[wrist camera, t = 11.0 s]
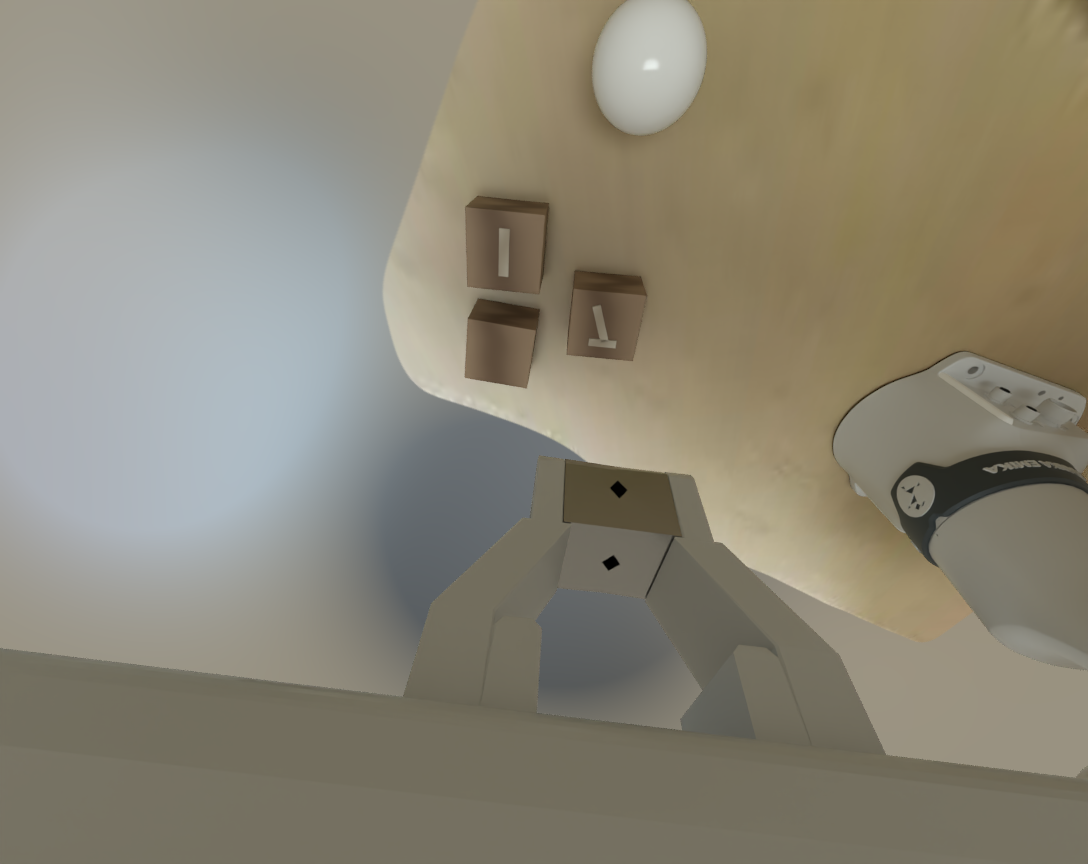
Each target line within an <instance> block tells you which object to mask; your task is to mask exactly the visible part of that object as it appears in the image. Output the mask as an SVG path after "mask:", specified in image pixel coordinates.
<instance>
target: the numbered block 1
mask: <svg viewBox="0 0 1088 864" xmlns="http://www.w3.org/2000/svg"><path fill="white" fill-rule="evenodd" d="M548 208H549V203H540V202H530V201H520V200H511V199H501V198H491V197H481V196H477V197H476V198H475V199H474V200H473V201H472V202H470V203H469V204H468V205H467V206H466V207H465V216H466V253H467V287H474V288H484V289H493V290H503V291H513V292H522V293H532V294H539V293H540V288H541V283H542V279H543V272H544V259H545V246H546V233H547V221H548Z"/></svg>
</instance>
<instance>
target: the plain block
mask: <svg viewBox="0 0 1088 864" xmlns="http://www.w3.org/2000/svg"><path fill="white" fill-rule="evenodd" d="M539 312H540V309H534V308H528V307H523V306H517V305H512V304H506V303H501V302H495V301H489V300H484V299H478V300H477V302H476V304H475V306H474V308H473V310H472V312H471V314H470V315H469V317H468V325H467V344H466V362H465V378H470V379H475V380H481V381H487V382H493V383H499V384H505V385H511V386H516V387H522V388H527V384H528V379H529V373H530V368H531V362H532V356H533V350H534V343H535V337H536V331H537V324H538V318H539Z"/></svg>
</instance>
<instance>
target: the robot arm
mask: <svg viewBox="0 0 1088 864" xmlns="http://www.w3.org/2000/svg"><path fill="white" fill-rule="evenodd" d="M970 368H971V369H970ZM1085 405H1086V398H1085V397H1083V396H1082V395H1081V394H1079V393H1078V392H1076V391H1074V390H1071V389H1068V388H1066V387H1063V386H1060V385H1058V384H1055V383H1052V382H1049V381H1047V380H1044V379H1041V378H1039V377H1036V376H1033V375H1030V374H1028V373H1025V372H1022V371H1020V370H1017V369H1014V368H1011V367H1009V366H1006V365H1003V364H1000V363H998V362H995V361H992V360H990V359H987V358H984V357H981V356H979V355H976V354H973V353H970V352H959V353H956V354H954V355H952V356H950V357H948V358H946V359H944V360H942V361H941V362H939V363H938V364H936V365H934V366H933V367H931V368H930V369H928V370H926V371H923V372H921V373H918V374H915V375H912V376H909V377H906V378H903V379H900V380H897V381H895V382H893V383H890V384H888V385H886V386H884V387H882V388H880V389H879V390H877V391H875V392H874V393H872V394H870V395H869V396H868V397H866V398H865V399H863V400H862V401H861V402H860V403H858V404H857V405H856V406H855V407H854V408H853V409H852V410H851V411H850V412H849V413H848V414H847V416H846V417H845V418H844V420H843V421H842V422H841V424H840V426H839V428H838V429H837V432H836V434H835V437H834V442H833V452H834V456H835V459H836V460H837V462H838V464H839V465H840V466H841V467H842V468H843V469H844V470H845V471H846V472H847V473H848V474H849V477H850V484H851V487H852V489H853V490H854V491H855V492H856V493H857V494H858V495H859V496H867V497H868V498H869V499H870V500H871V501H872V502H873V503H874V504H875V505H876V507H877V508H878V509H879V510H880V511H881V512H882V513H883V514H884V515H885V516H886V517H887V519H888V520H889V521H890V522H891V523H892V524H893V525H894V526H895V527H896V528H897V529H898V530H899V531H901V532H903V533H906V534H907V535H908V537H909V538H910V539H911V543H912V544H913V545H914V546H915V548H916V549H917V550H918V551H919V552H920V553H922V554H923V555H924V557H925V558H926V559H927V560H928V561H929V562H930V563H932V564H933V565H935V566H937V567H939V568H940V569H941V570H942V572H943V573H944V574H945V575H946V577H947V578H948V579H949V581H950V582H951V583H952V584H953V586H954V587H955V588H956V590H957V591H958V592H959V594H960V595H961V596H962V597H963V599H964V600H965V601H966V603H967V604H968V605H969V606H970V608H971V609H972V610H973V612H974V613H975V614H976V615H977V617H978V618H979V619H980V621H981V622H982V623H983V624H984V626H985V627H986V628H987V630H988V631H989V632H990V633H991V635H992V636H993V637H994V638H996V639H997V640H998V641H999V642H1000V643H1002V644H1003V645H1004V646H1006V647H1008V648H1009V649H1011V650H1013V651H1015V652H1016V653H1019V654H1021V655H1023V656H1026V657H1029V658H1031V659H1034V660H1037V661H1040V662H1043V663H1047V664H1050V665H1054V666H1059V667H1065V668H1071V669H1080V670H1088V484H1087V483H1086V479H1085V478H1084V477H1083V476H1082V472H1083V471H1084V470H1085V468H1086V467H1087V465H1088V433H1086V432H1085V431H1084V430H1082V429H1081V428H1079V427H1078V426H1076V424H1077V423H1078V421H1079V419H1080V418H1081V416H1082V414H1083V411H1084V409H1085ZM557 588H563V589H573V590H583V591H593V592H602V593H609V594H615V595H622V596H629V597H635V598H641V599H646V600H645V602H646V603H647V605H648V607H649V608H650V610H651V611H652V613H653V614H654V616H655V617H656V619H657V620H658V622H659V624H660V625H661V627H662V628H663V630H664V631H665V633H666V634H667V636H668V638H669V639H670V640H671V642H672V644H673V645H674V647H675V648H676V650H677V651H678V653H679V654H680V656H681V658H682V659H683V661H684V662H685V664H686V665H687V667H688V668H689V670H690V671H691V673H692V674H693V676H694V678H695V679H696V681H697V682H698V684H699V685H700V687H701V688H702V690H703V691H702V692H701V693H700V695H699V696H698V697H697V699H696V700H695V701H694V702H693V704H692V705H691V706H690V708H689V709H688V710H687V711H686V713H685V714H684V715H683V717H682V718H681V726H682V730H675V729H667V728H659V727H650V726H642V725H634V724H625V723H617V722H609V721H601V720H592V719H584V718H576V717H567V716H559V715H551V714H542V713H537V698H538V682H539V666H540V650H541V633H542V628H541V627H540V626H539V625H538V624H537V623H536V622H535V620H536V619H537V617H538V616H539V615H540V613H541V612H542V610H543V609H544V608H545V606H546V605H547V603H548V602H549V600H550V599H551V598H552V596H553V595H554V594H555V592H556V591H557ZM0 864H1088V766H1087V767H1085V768H1084V769H1082V771H1081V772H1080V773H1079V774H1078V775H1077V777H1076V778H1072V777H1064V776H1056V775H1047V774H1038V773H1030V772H1022V771H1014V770H1005V769H997V768H989V767H981V766H972V765H964V764H956V763H948V762H940V761H931V760H923V759H914V758H907V757H898V756H890V755H886V754H885V751H884V749H883V747H882V745H881V743H880V741H879V739H878V736H877V734H876V732H875V730H874V728H873V726H872V724H871V722H870V720H869V717H868V715H867V713H866V711H865V709H864V707H863V704H862V702H861V700H860V698H859V696H858V694H857V692H856V690H855V687H854V685H853V683H852V681H851V679H850V677H849V675H848V673H847V670H846V668H845V666H844V664H843V662H842V660H841V658H840V656H839V654H838V653H836V652H835V651H834V650H833V649H832V648H831V647H830V646H829V645H828V644H827V643H826V642H825V641H824V640H823V639H822V638H821V637H820V636H819V635H818V634H817V633H816V632H814V630H813V629H811V628H810V627H809V626H808V625H807V624H806V623H805V622H804V621H803V620H802V619H801V618H800V617H799V616H798V615H797V614H796V613H795V612H793V610H792V609H791V608H789V607H788V606H787V605H786V604H785V603H784V602H783V601H782V600H781V599H780V598H779V597H778V596H777V595H776V594H775V593H774V592H773V591H772V590H771V589H770V588H769V587H768V586H766V585H765V584H764V583H763V582H762V581H761V580H760V579H759V578H758V577H757V576H756V575H755V574H754V573H753V572H752V571H751V570H750V569H749V568H748V567H747V566H746V565H745V564H744V563H742V562H741V561H740V560H739V559H738V558H737V557H736V556H735V555H734V554H733V553H732V552H731V551H730V550H729V549H728V548H727V547H726V546H725V545H724V544H723V543H718V542H714V540H713V537H712V534H711V531H710V528H709V524H708V521H707V518H706V515H705V512H704V509H703V505H702V502H701V499H700V496H699V493H698V489H697V486H696V483H695V480H694V478H693V477H692V476H691V475H685V474H676V473H667V472H665V473H662V472H654V471H646V470H638V469H630V468H622V467H614V466H608V465H601V464H595V463H588V462H582V461H575V460H568V459H565V461H564V459H559V458H552V457H546V456H539V458H538V462H537V469H536V476H535V483H534V490H533V497H532V504H531V511H530V518H522V519H521V520H520V521H519V522H518V523H517V524H515V525H514V526H513V527H512V528H511V529H510V530H509V531H508V532H507V533H506V534H505V535H504V536H503V537H502V538H501V539H499V541H497V542H496V543H495V544H494V545H493V546H492V547H491V548H490V549H489V550H488V551H487V552H486V553H485V554H483V555H482V557H480V558H479V559H478V560H477V561H476V562H475V563H474V564H473V565H472V566H471V567H470V568H469V569H468V570H466V572H464V573H463V574H462V575H461V576H460V577H459V578H458V579H457V580H456V581H455V582H454V583H453V584H451V586H449V587H448V588H447V589H446V590H445V591H444V592H443V593H442V594H441V595H440V596H439V597H438V598H437V599H436V600H434V602H432V603H431V606H430V609H429V613H428V616H427V619H426V623H425V626H424V629H423V632H422V636H421V639H420V643H419V646H418V649H417V652H416V655H415V659H414V662H413V666H412V669H411V672H410V675H409V678H408V682H407V685H406V688H405V692H404V695H403V697H401V696H392V695H385V694H377V693H368V692H360V691H351V690H342V689H335V688H327V687H318V686H310V685H301V684H293V683H284V682H277V681H268V680H260V679H252V678H244V677H235V676H227V675H219V674H210V673H202V672H194V671H184V670H176V669H169V668H160V667H152V666H143V665H135V664H127V663H119V662H110V661H102V660H93V659H86V658H77V657H68V656H61V655H52V654H44V653H36V652H27V651H18V650H11V649H2V648H0Z"/></svg>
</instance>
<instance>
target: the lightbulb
mask: <svg viewBox="0 0 1088 864" xmlns="http://www.w3.org/2000/svg"><path fill="white" fill-rule="evenodd" d="M706 63H707V41H706V34H705V30H704V27H703V24H702V21H701V19H700V17H699V15H698V13H697V11H696V10H695V8H694V7H693V6H692V5H691V3H690V2H689V1H688V0H626V1H625V2H624V3H622V4H621V5H620V6H619V7H618V8H617V9H616V10H615V11H614V13H613V14H612V15H611V16H610V18H609V19H608V21H607V22H606V24H605V26H604V27H603V29H602V31H601V33H600V36H599V38H598V41H597V44H596V47H595V51H594V55H593V62H592V84H593V90H594V95H595V98H596V101H597V104H598V106H599V108H600V110H601V112H602V113H603V115H604V116H605V118H606V119H607V120H608V121H609V122H610V123H611V124H612V125H613V126H614V127H616V128H617V129H619V130H620V131H622V132H625V133H627V134H631V135H637V136H645V135H651V134H655V133H658V132H660V131H662V130H664V129H666V128H668V127H669V126H671V125H672V124H674V123H675V122H676V121H677V120H678V119H679V118H680V117H681V116H682V115H683V114H684V113H685V112H686V111H687V110H688V108H689V107H690V105H691V104H692V102H693V101H694V99H695V97H696V95H697V93H698V91H699V89H700V87H701V84H702V81H703V78H704V74H705V69H706Z"/></svg>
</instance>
